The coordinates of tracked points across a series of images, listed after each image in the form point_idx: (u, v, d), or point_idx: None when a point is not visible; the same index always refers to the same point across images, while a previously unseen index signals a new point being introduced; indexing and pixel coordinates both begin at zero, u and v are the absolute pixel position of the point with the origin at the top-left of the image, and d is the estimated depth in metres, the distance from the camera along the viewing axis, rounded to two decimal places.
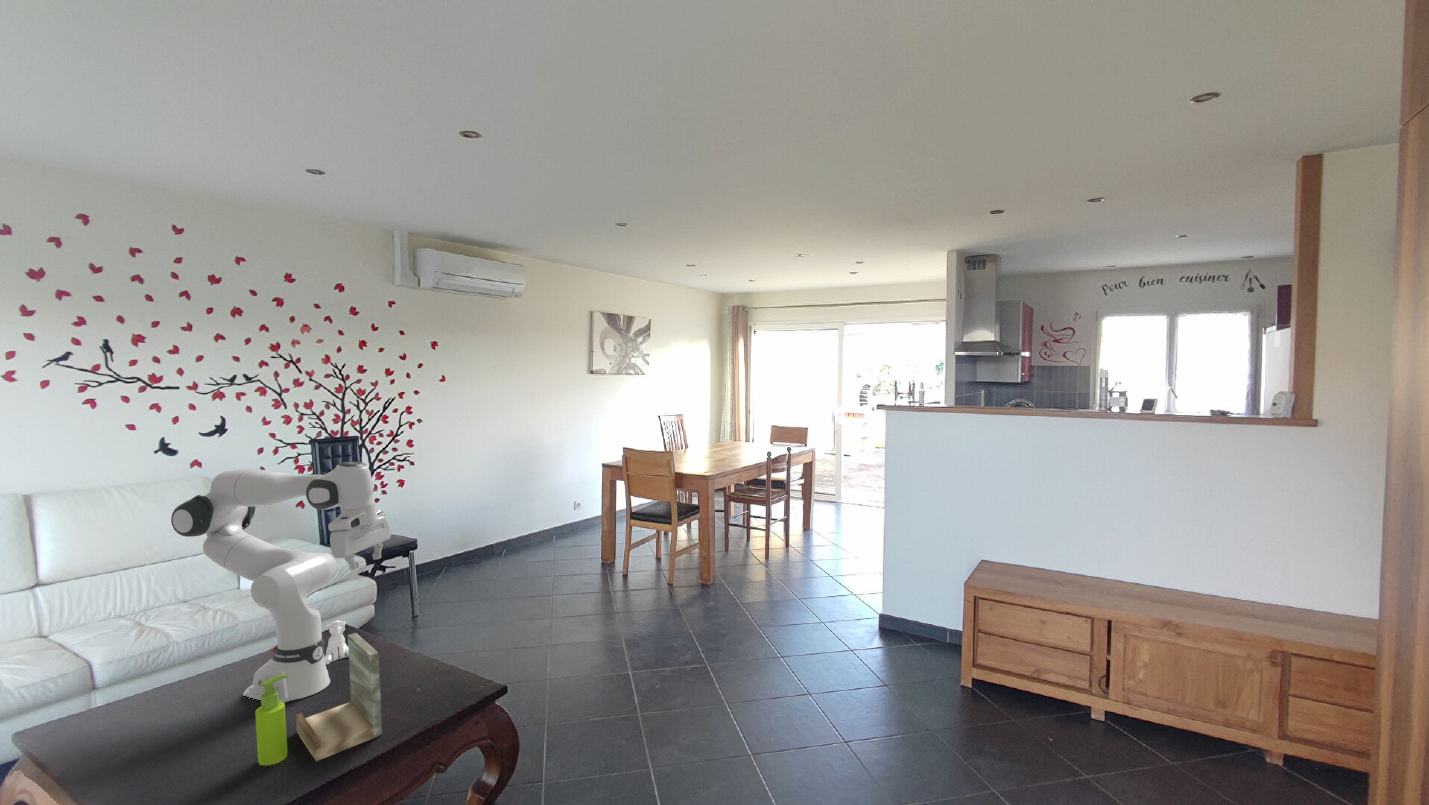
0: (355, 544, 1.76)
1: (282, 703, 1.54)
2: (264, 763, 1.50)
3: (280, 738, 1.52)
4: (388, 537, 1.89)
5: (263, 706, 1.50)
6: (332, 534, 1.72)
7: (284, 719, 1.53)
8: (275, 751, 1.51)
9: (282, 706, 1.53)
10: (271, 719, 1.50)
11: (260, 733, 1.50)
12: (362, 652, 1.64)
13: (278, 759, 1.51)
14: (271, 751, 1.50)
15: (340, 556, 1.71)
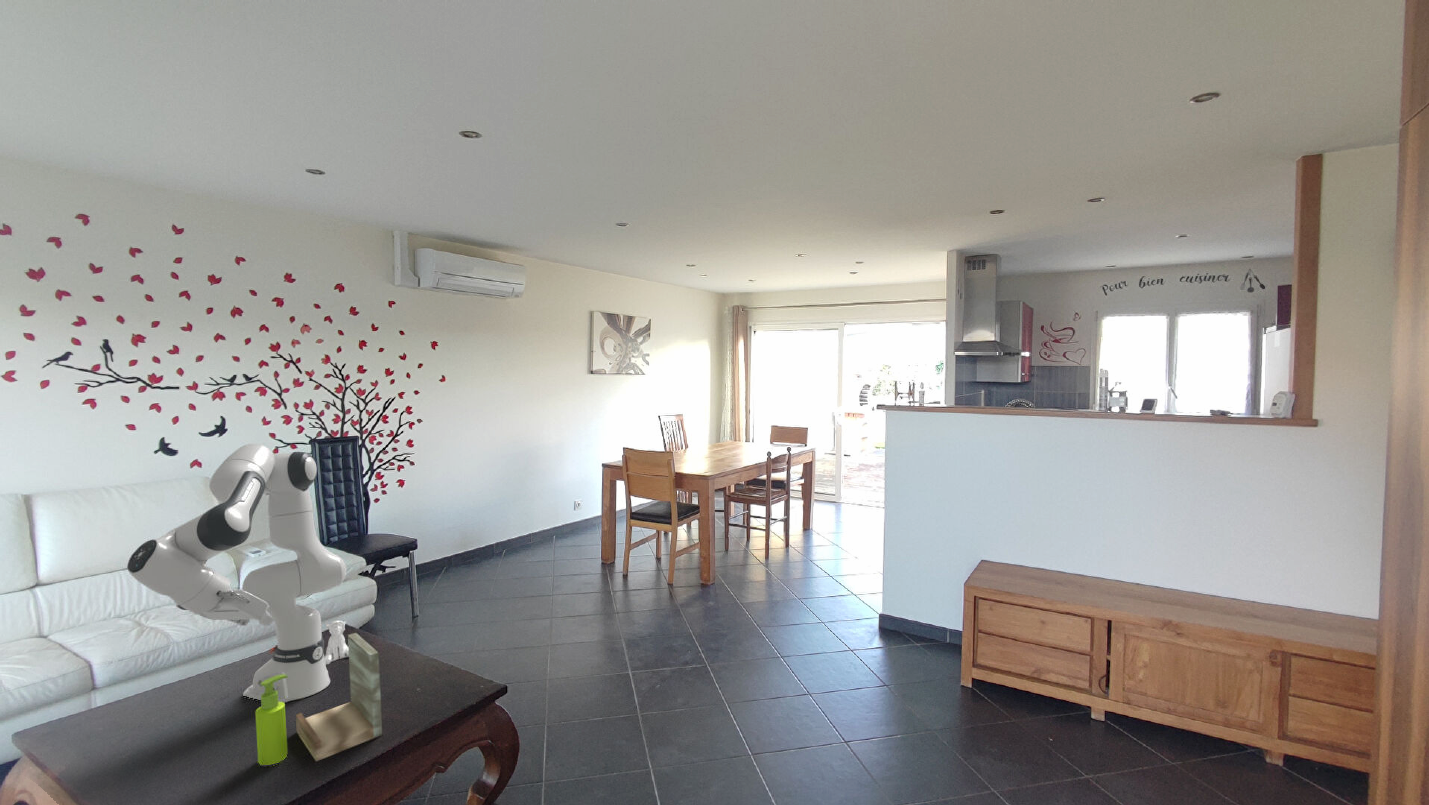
0: (213, 615, 1.45)
1: (282, 703, 1.54)
2: (264, 763, 1.50)
3: (281, 738, 1.52)
4: (254, 618, 1.40)
5: (263, 706, 1.50)
6: None
7: (284, 719, 1.53)
8: (275, 751, 1.51)
9: (282, 706, 1.53)
10: (271, 719, 1.50)
11: (260, 733, 1.50)
12: (362, 652, 1.64)
13: (278, 759, 1.51)
14: (271, 751, 1.50)
15: None
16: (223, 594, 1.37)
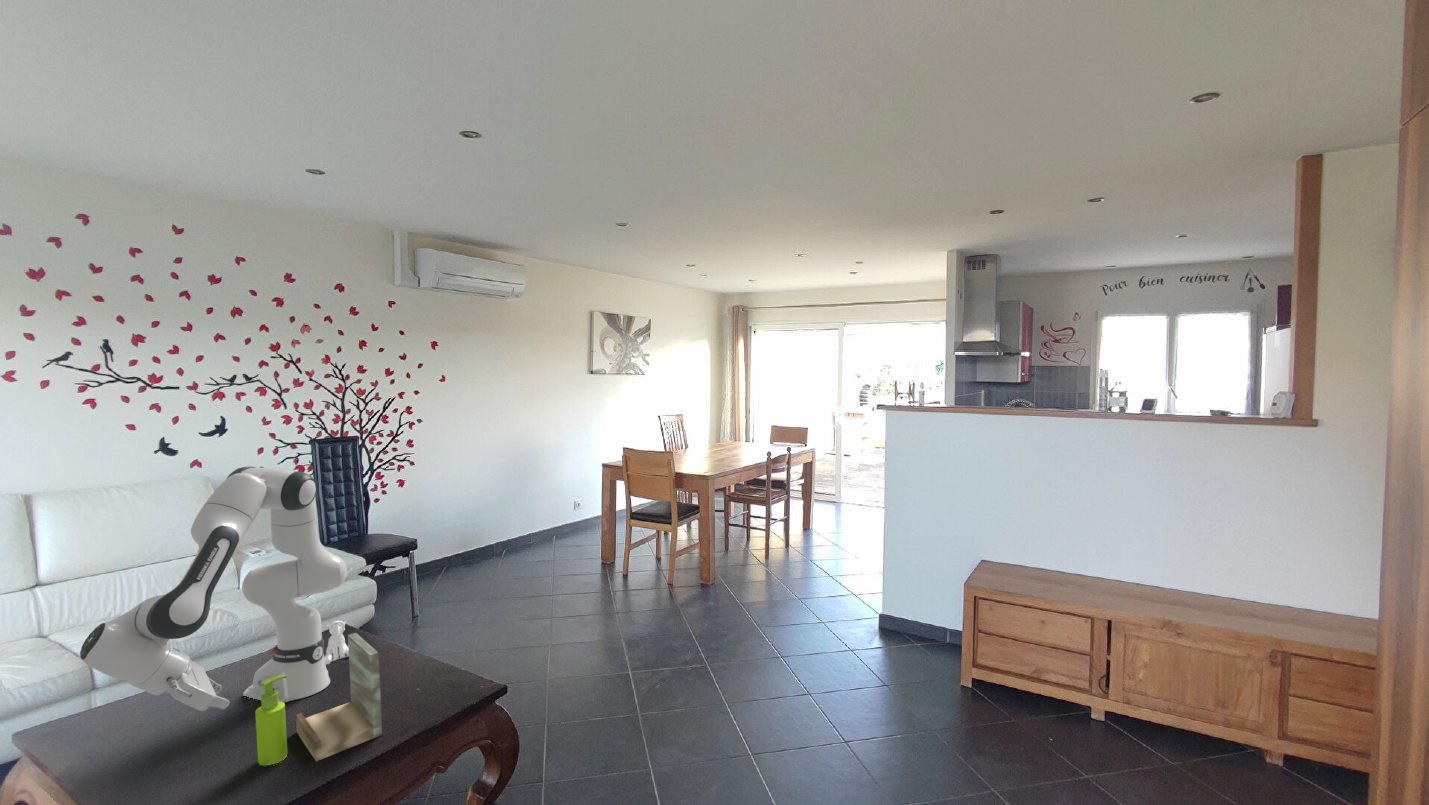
0: None
1: (282, 703, 1.54)
2: (264, 763, 1.50)
3: (280, 738, 1.52)
4: None
5: (263, 706, 1.50)
6: None
7: (284, 719, 1.53)
8: (275, 751, 1.51)
9: (282, 706, 1.53)
10: (271, 719, 1.50)
11: (260, 733, 1.50)
12: (362, 652, 1.64)
13: (278, 759, 1.51)
14: (271, 751, 1.50)
15: None
16: (168, 684, 1.34)
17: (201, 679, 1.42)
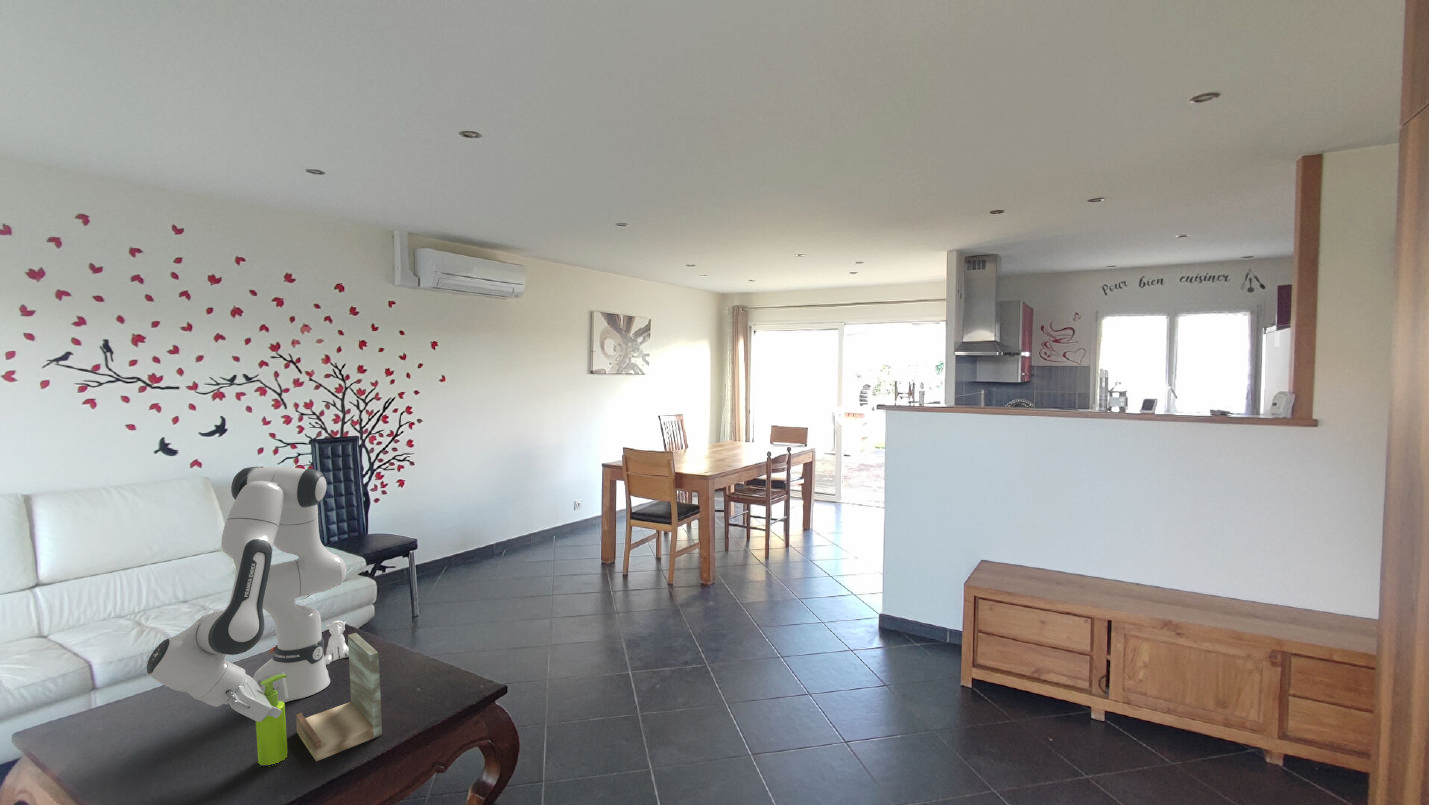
0: None
1: (282, 703, 1.54)
2: (264, 763, 1.50)
3: (280, 738, 1.52)
4: None
5: None
6: None
7: (284, 719, 1.53)
8: (275, 751, 1.51)
9: (282, 706, 1.53)
10: (271, 719, 1.50)
11: (260, 733, 1.50)
12: (362, 652, 1.64)
13: (278, 759, 1.51)
14: (271, 751, 1.50)
15: None
16: (228, 696, 1.41)
17: (256, 691, 1.49)
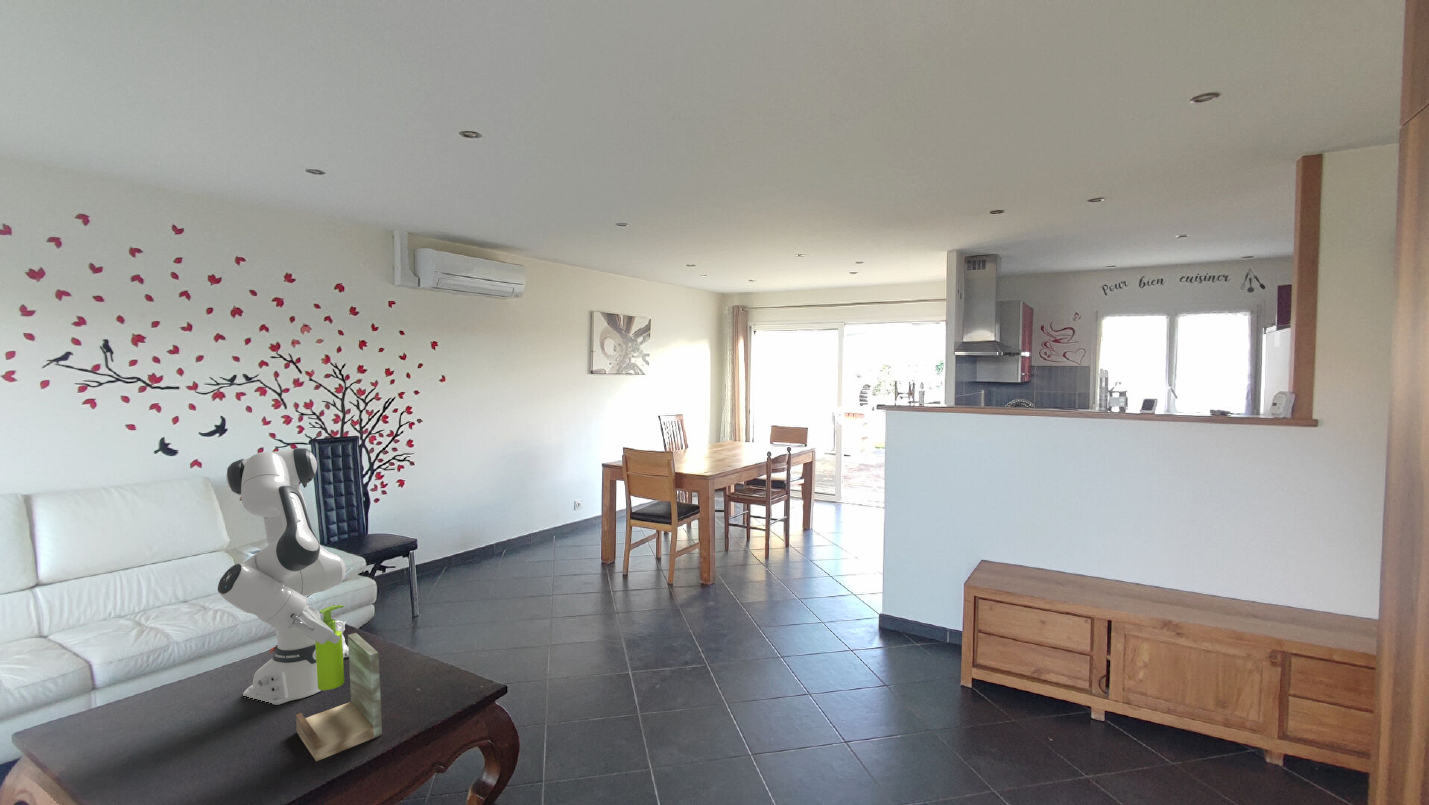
0: None
1: (339, 631, 1.63)
2: (324, 686, 1.59)
3: (339, 663, 1.61)
4: (319, 642, 1.52)
5: None
6: None
7: (341, 646, 1.62)
8: (334, 675, 1.60)
9: (339, 633, 1.62)
10: (330, 644, 1.59)
11: (320, 658, 1.58)
12: (362, 652, 1.64)
13: (336, 683, 1.60)
14: (330, 675, 1.59)
15: None
16: (293, 619, 1.50)
17: (316, 618, 1.58)
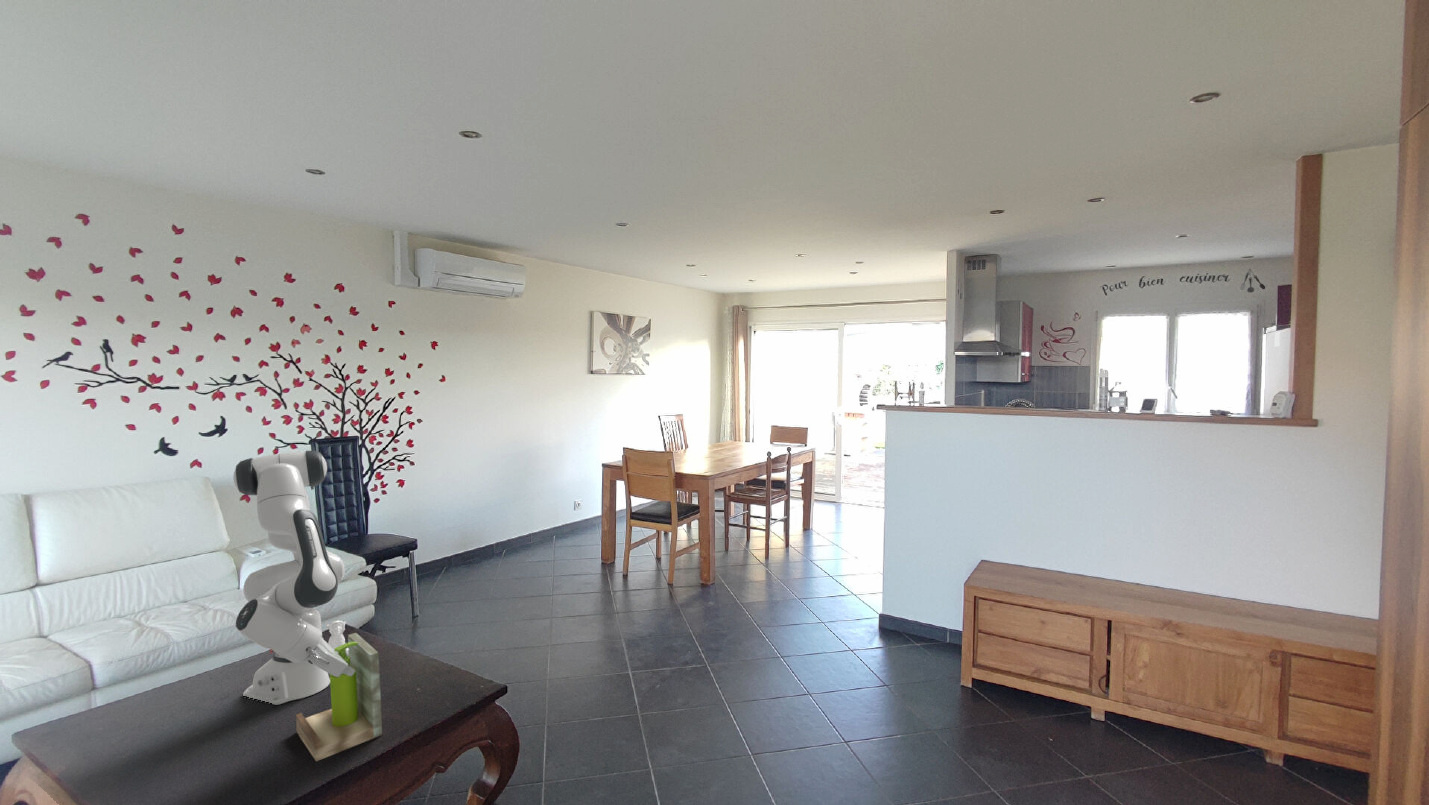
0: None
1: None
2: (338, 723, 1.61)
3: (353, 700, 1.63)
4: None
5: None
6: None
7: (355, 683, 1.64)
8: (348, 712, 1.62)
9: None
10: (344, 682, 1.61)
11: (335, 695, 1.61)
12: (362, 652, 1.64)
13: (351, 720, 1.63)
14: (345, 712, 1.62)
15: None
16: (309, 653, 1.52)
17: (331, 650, 1.60)
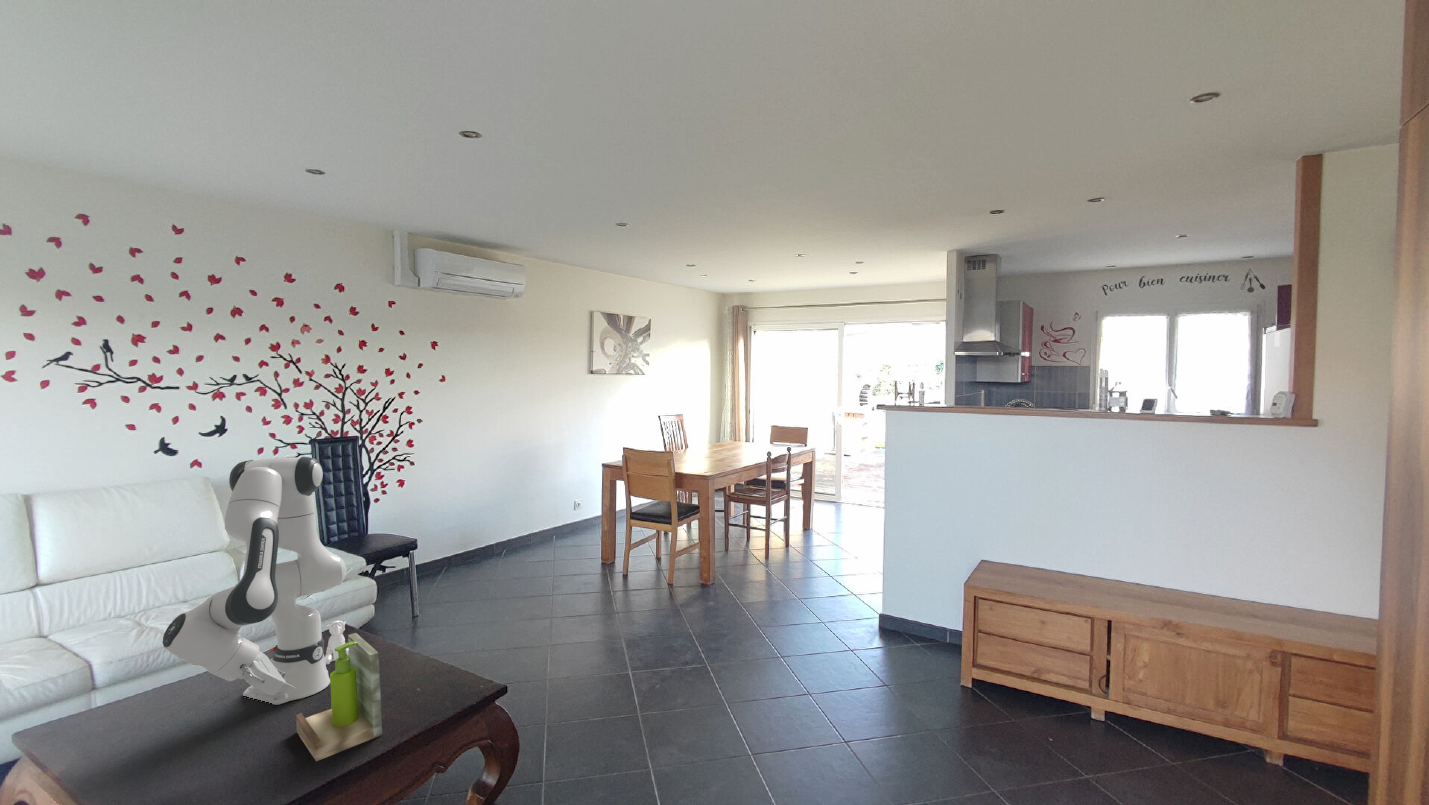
0: None
1: (353, 668, 1.65)
2: (338, 723, 1.61)
3: (353, 700, 1.63)
4: None
5: (338, 670, 1.62)
6: None
7: (355, 683, 1.64)
8: (348, 712, 1.62)
9: (354, 671, 1.64)
10: (344, 682, 1.61)
11: (335, 695, 1.61)
12: (362, 652, 1.64)
13: (351, 720, 1.63)
14: (345, 712, 1.62)
15: None
16: (243, 671, 1.43)
17: (269, 667, 1.51)
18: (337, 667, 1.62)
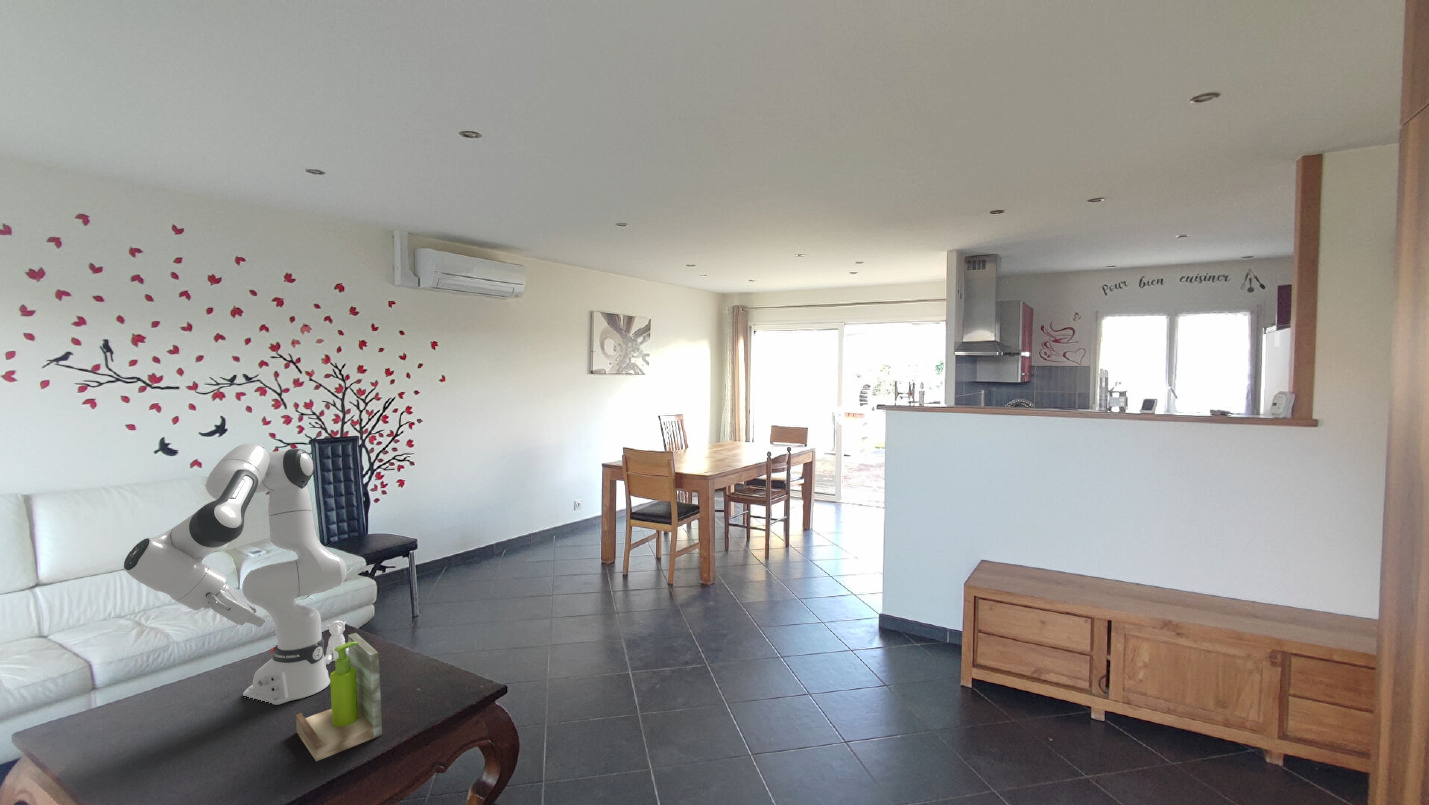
0: None
1: (353, 668, 1.65)
2: (338, 723, 1.61)
3: (353, 700, 1.63)
4: (238, 623, 1.42)
5: (338, 670, 1.62)
6: None
7: (355, 683, 1.64)
8: (348, 712, 1.62)
9: (354, 670, 1.64)
10: (344, 682, 1.61)
11: (335, 695, 1.61)
12: (362, 652, 1.64)
13: (351, 720, 1.63)
14: (345, 712, 1.62)
15: None
16: (208, 598, 1.39)
17: (238, 598, 1.47)
18: (337, 667, 1.62)
